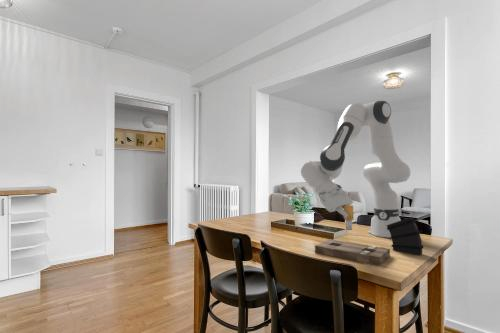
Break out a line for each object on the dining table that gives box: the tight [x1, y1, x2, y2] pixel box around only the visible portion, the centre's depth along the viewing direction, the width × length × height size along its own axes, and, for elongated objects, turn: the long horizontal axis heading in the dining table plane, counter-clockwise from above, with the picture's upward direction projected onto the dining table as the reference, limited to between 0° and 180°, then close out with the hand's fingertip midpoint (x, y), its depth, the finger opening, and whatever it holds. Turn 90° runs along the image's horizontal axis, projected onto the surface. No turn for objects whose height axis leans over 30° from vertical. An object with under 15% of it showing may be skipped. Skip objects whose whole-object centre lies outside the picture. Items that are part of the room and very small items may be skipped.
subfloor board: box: [314, 238, 391, 266], centre depth 116 cm, size 14×26×3 cm, turn 50°
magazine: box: [387, 216, 424, 256], centre depth 119 cm, size 4×13×15 cm, turn 42°
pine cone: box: [313, 209, 325, 224], centre depth 178 cm, size 18×10×10 cm, turn 51°
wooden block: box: [343, 204, 354, 231], centre depth 117 cm, size 4×4×10 cm
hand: (350, 215), depth 117 cm, fingers closed on wooden block, 4 cm apart
